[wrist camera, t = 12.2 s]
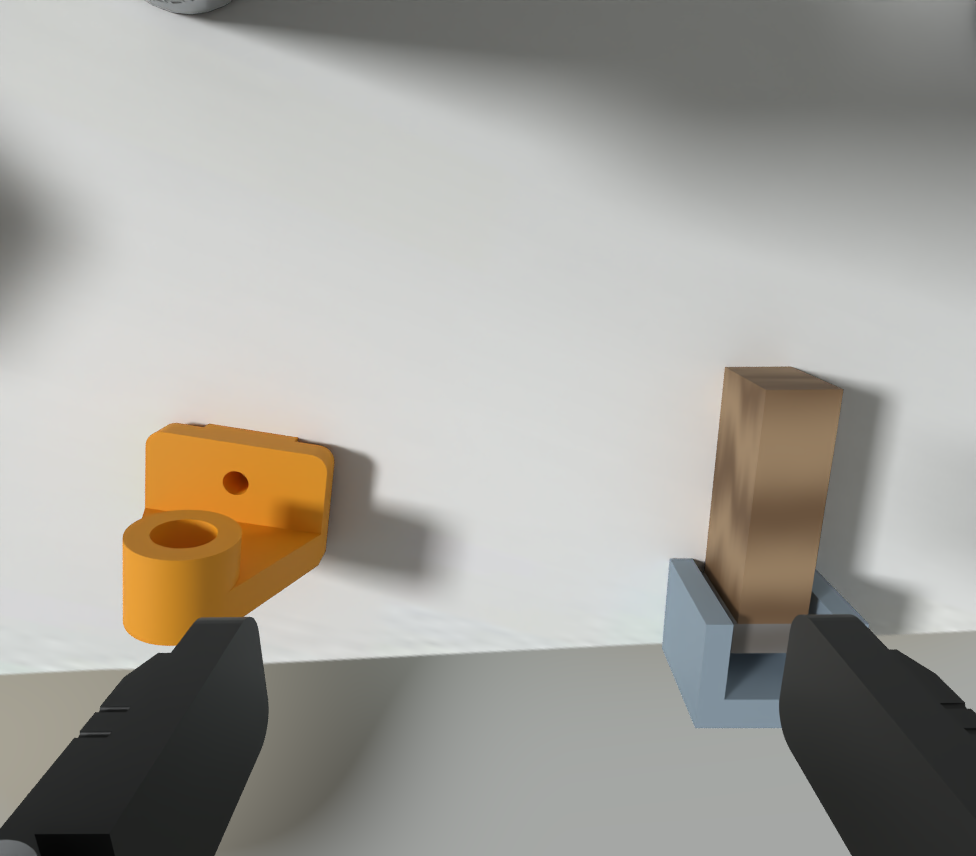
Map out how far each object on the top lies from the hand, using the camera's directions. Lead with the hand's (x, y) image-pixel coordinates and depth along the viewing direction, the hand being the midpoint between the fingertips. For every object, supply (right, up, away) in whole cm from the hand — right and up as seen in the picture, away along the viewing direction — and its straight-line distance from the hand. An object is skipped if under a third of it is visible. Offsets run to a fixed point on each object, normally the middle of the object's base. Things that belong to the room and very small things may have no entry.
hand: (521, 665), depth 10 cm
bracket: (-16, 0, +32) cm, 35 cm away
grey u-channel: (+16, -8, +34) cm, 38 cm away
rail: (+16, 0, +31) cm, 35 cm away
